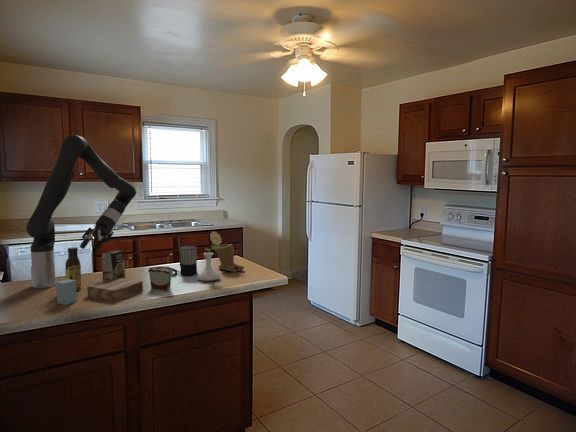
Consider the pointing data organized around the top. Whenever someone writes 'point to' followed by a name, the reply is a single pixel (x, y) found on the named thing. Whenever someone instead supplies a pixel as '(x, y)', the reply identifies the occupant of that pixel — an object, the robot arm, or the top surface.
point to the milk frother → (187, 261)
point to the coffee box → (113, 265)
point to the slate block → (66, 291)
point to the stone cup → (227, 258)
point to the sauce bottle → (73, 267)
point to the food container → (160, 278)
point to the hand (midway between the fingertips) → (88, 248)
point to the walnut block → (115, 289)
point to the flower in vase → (208, 272)
